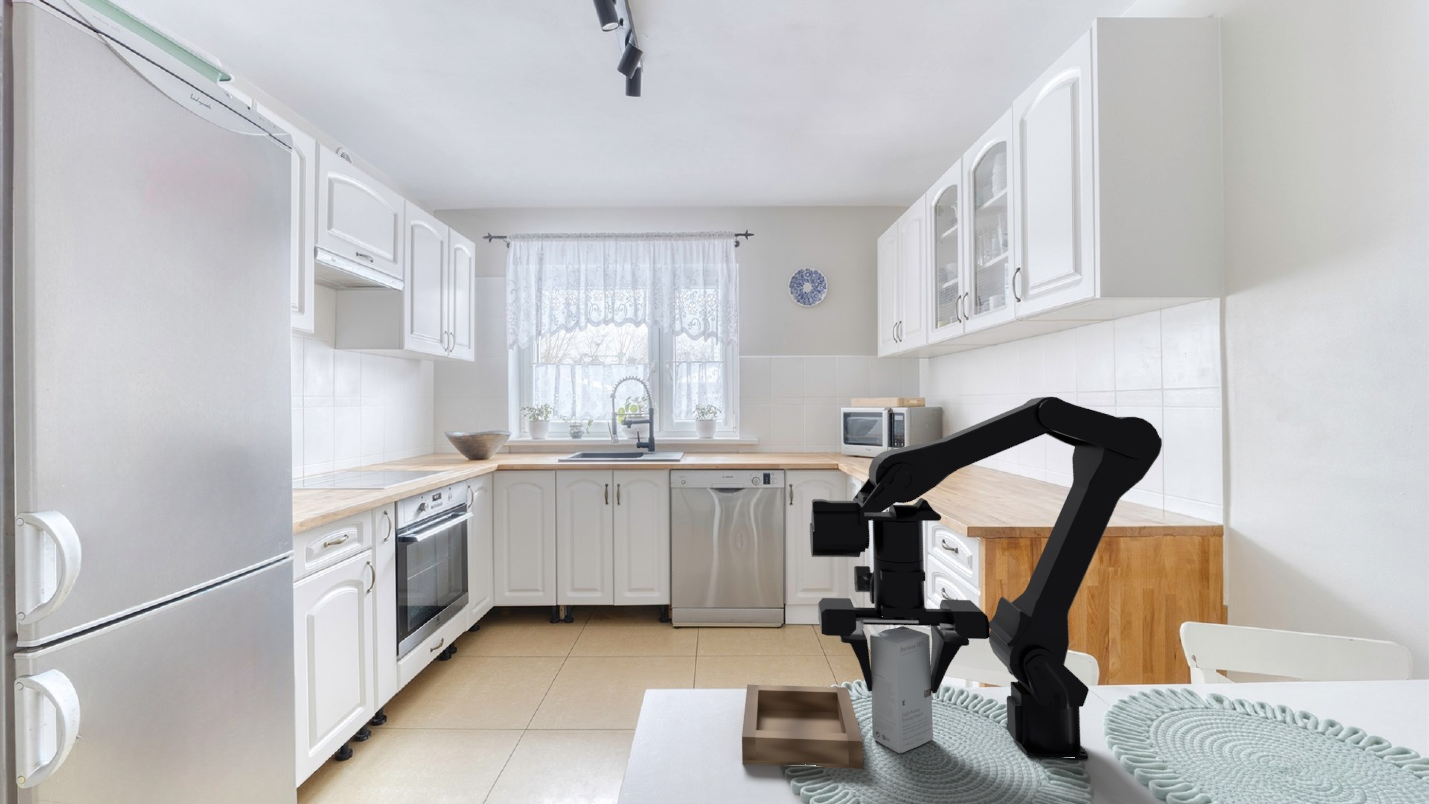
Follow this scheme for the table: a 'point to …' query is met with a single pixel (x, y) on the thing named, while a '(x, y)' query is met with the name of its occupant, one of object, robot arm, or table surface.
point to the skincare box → (901, 688)
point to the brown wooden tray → (801, 727)
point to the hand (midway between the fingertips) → (901, 690)
